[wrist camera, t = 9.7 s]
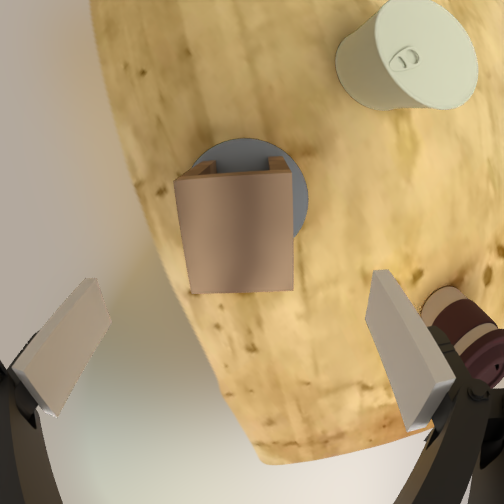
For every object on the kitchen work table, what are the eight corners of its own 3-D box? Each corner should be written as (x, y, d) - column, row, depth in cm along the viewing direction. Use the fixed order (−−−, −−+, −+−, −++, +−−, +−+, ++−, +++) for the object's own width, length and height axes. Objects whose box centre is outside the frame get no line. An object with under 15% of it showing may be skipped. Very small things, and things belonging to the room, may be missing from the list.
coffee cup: (409, 340, 38) (446, 417, 25) (414, 285, 34) (468, 364, 21) (460, 323, 37) (505, 388, 23) (470, 269, 33) (531, 333, 19)
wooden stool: (211, 243, 32) (191, 293, 23) (202, 161, 28) (173, 181, 19) (285, 240, 32) (293, 290, 23) (282, 156, 28) (292, 172, 19)
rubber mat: (177, 144, 28) (176, 145, 28) (306, 135, 28) (306, 136, 27) (193, 258, 34) (191, 261, 33) (307, 254, 33) (308, 256, 32)
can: (317, 50, 24) (349, 11, 13) (384, 20, 21) (439, -17, 10) (365, 125, 27) (422, 131, 16) (428, 91, 24) (498, 88, 13)
